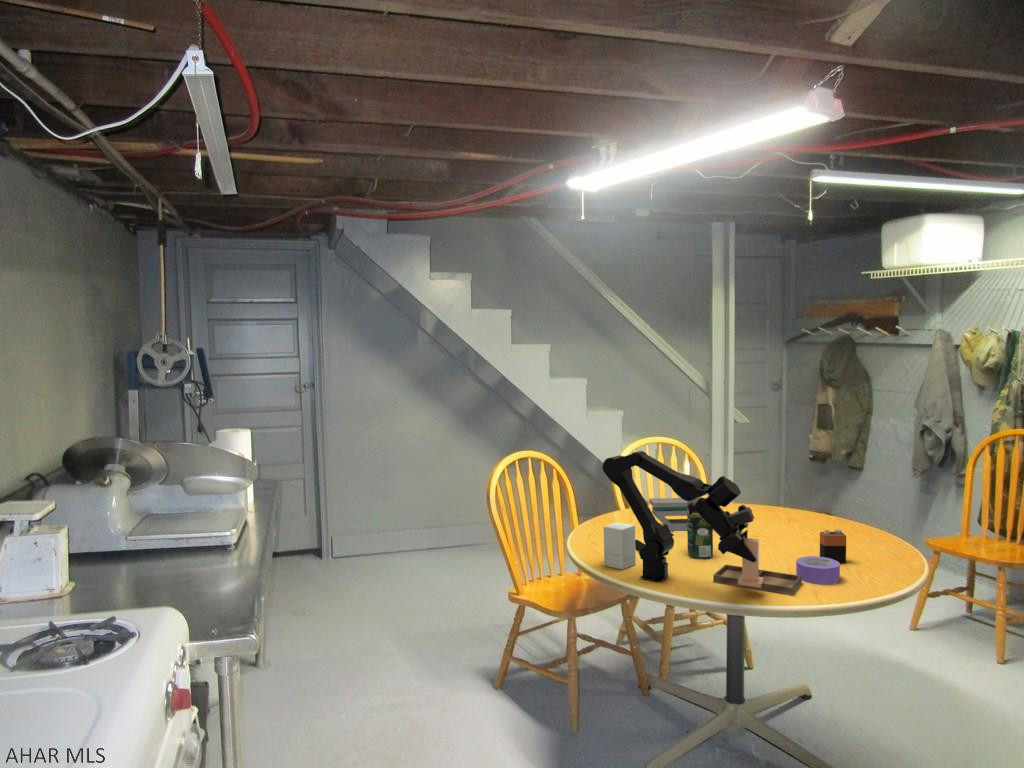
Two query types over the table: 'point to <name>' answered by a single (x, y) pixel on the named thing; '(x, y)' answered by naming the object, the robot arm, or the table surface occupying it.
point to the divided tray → (770, 580)
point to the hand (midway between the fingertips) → (756, 559)
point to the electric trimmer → (639, 545)
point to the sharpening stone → (670, 512)
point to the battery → (833, 545)
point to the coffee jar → (698, 535)
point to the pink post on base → (751, 566)
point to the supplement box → (619, 545)
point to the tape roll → (818, 570)
